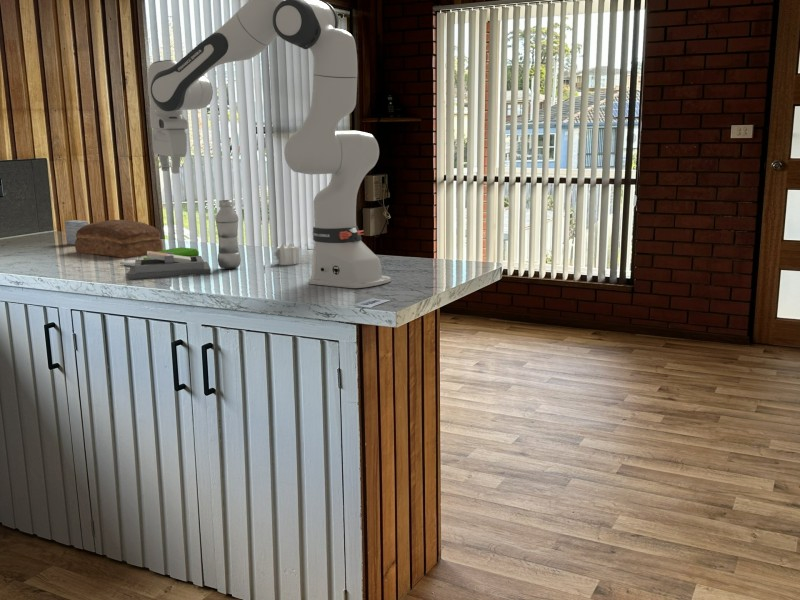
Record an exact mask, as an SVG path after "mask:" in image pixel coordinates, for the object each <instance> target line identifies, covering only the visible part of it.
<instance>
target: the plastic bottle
mask: <svg viewBox="0 0 800 600" xmlns="http://www.w3.org/2000/svg"><path fill="white" fill-rule="evenodd" d="M218 204H219V205H218V207H219V208H220V209H219V210H218V212H217V214H216V215H215V224H216V230H217V237H218V254H217V263H218V266H219V267H220V269H226V270H232V269H235V268H238V267H240V265H241V261H242V260H241V259H242V258H241V254H240V249H239V242H238V241H239V239H238V233H239V232H238V229H239V216H238V214H237V213H236V211H235V210H234V209H233V207H234V204H233V200H232V199H222V200H218Z"/></svg>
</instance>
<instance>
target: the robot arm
mask: <svg viewBox="0 0 800 600" xmlns="http://www.w3.org/2000/svg"><path fill="white" fill-rule="evenodd" d="M339 24H340V21H339V15H338V12H337V10H336V9H335V8H334V7H333V6H332V5H331V4H330V3H329V2H327V1H325V0H248V1H247V2H246V3H245V4H244V5H243V6H241V7H240V8H239V9H238V10H237V11H236V12H235V13H234V14H233V15H232V16H231V17H230V18H229V19H228V20H227V21H226V22H225V23H224V24H222V26H220V27H219V28H218V29H217V30H215V31H214V32H213V33H211V34H210V35H209V36H208V37H206V38H205V39H203V40H202V41H201V42H200V43H198V44H196V46H195V47H194V48H193V49H191V50H190V51H189V52H188V53H187V54H185V56H183V57H182V58H181V59H180V60H179V61H176V60H173V59H163V60H158V61H154V62H152V63H151V64H150V65H149V67H148V71H147V94H148V97H149V100H150V105H149V120H150V121H149V122H150V128H151V129H152V134H151V135H152V136H151V138H152V139H151V140H152V143H151V144H152V151H153V154H154V155H158V158H159V162H160V166H161V167H160V169H161V171H162V172H169V171H170V170H171V173H172V174H179V173H180V166H181V158H185V157H187V151H188V150H187V149H188V137H187V135H188V134H187V129H188V128H189V126H188V125H189V123H188V120H187V119H186V118H185V116H184V111H185V110H186V111H187V110H188V111H190V110H200V109H201V110H202V109H204V108H206V107H208V106H209V105H210V104H211V101H212V99H213V96H214V95H213V93H214V91H213V86H212V83H211V81H210V79H209V78H208V77H206V74H207V73H208V72H209V71H210V70H212V69H213V68H215V67H217V66H220V65H223V64H228V63H233V62H239V61H240V62H241V61H247V60H248V61H249V60H251V59H253V58H254V57H256V56H257V55H259V54H261V53H262V52H263V51H265V49H266V48H267V47H268V46H270V45H271V44H272V43H273V41H274V40H275V39H276V38H277V37H280V39H282V40H283V41H286V42H287V43H289V44H292V45H294V46H297V47H299V48H301V49H303V50H308V49H309V50H310V51H311V53H312V57H313V76H312V77H313V78H312V79H313V80H312V94H311V95H312V96H311V104H310V108H309V110H308V114H307V116H306V118H305V120H304V122H303V123H302V125H301V126H300V127H299V128H298V129H297V130H296V131H295V132H294V133H293V134H291V135H290V136H289V137H288V139H287V140H286V142H285V145H284V152H283V153H284V159H285V161H286V165H287V166H288V167H289V169H291V171H292V172H294V173H298V174H305V175H306V174H307V175H330V174H331V178H330V181H329V182H328V184H327V186H326V187H324V188H323V189H321V190H319V191H318V192H317V193H316V195H314V196H315V197H314V199H313V219H314V220H313V222H314V223H313V224H314V226H313V227H312V241H314V248H313V251H312V258H311V259H312V262H311V263H312V264H311V274H310V275H311V276H310V279H309V282H308V283H309V285H319V286H329V287H338V288H349V289H361V288H369V287H375V286H379V285H383V284H388V283H390V282H392V279H391V277H390V276H387V275H383V273H382V270H383V269H382V264H381V260H380V258H379V257H378V256H377V255H376V254H375V253H374V251H372V250H371V249H370V248H369V247H368V246H367V245H366V243H364V242H363V241H362V240H363V239H362V236H363V235H364V233H363V232H365V231H364V229H362V230H360V229H359V227H358V225H357V198H358V197H357V196H358V193H359V189H360V187H361V184H362V182H363V180H364V178H365V177H366V175H367V174H368V173H369V172H370V171H371V170H372V169H373V168H374V167H375V166H376V164H377V162H378V160H379V158H380V157H379V156H380V147H379V143H378V141H377V139H376V138H375V136H374V135H373V134H372V133H370V132H369V133H368V132H365V131H360V130H356V129H355V130H337V126H338V124H339V123H340V121H341V120H342V119H344V118H345V117H347V116H348V115H350V114H351V113H352V112H353V111H354V109H355V108H356V105H357V92H358V89H357V88H358V53H357V45H356V41H355V37H354V36H353V35H352V34H351V33H350V32H349V31H347V30H344V29H341V28H339ZM169 157H170V159H171V167H170V165H169V162H168V159H169ZM170 168H171V169H170Z"/></svg>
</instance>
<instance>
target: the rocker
mask: <svg viewBox="0 0 800 600" xmlns="http://www.w3.org/2000/svg"><path fill="white" fill-rule="evenodd" d="M169 255H172V254H167V253H160V252H153V251H147V255H146V257H147V258H151V259H159V260H165V256H169ZM173 257H174V262H181V263H182V262H191V258H190V257H186V256H179V255H173Z"/></svg>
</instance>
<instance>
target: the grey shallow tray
mask: <svg viewBox="0 0 800 600" xmlns="http://www.w3.org/2000/svg"><path fill="white" fill-rule="evenodd" d="M164 253H167V254H172V255H169V256H165V260H159V259H141V258H140V259H141V260H138V259H134V260H135V266H129V271H128V280H130V281H132V280H143V279H144V280H145V279H158V278H172V277H173V278H174V277H187V276H202V275H203V276H204V275H211V274H212V273H211V271H212V270H211V267H210V265H209V262H208V261H204V259H203V257H202V255H199V256H190V258H191V262H182V263H181V262H174V257H173V252H164Z"/></svg>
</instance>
